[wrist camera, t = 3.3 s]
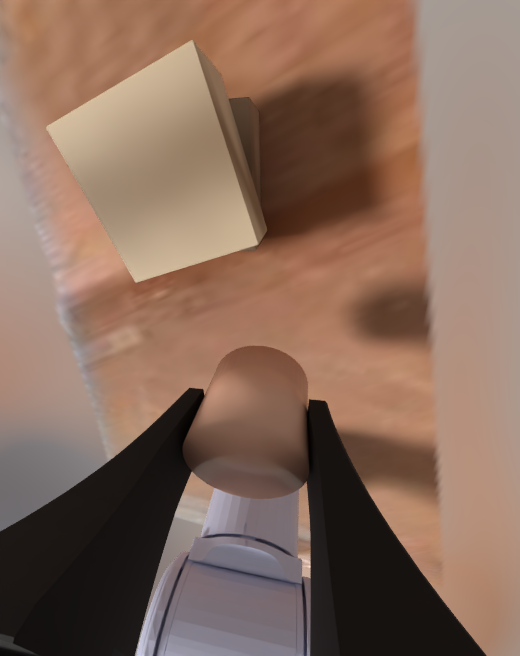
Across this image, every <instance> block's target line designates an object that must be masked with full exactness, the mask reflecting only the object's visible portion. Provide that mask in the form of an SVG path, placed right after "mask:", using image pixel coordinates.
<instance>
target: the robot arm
mask: <svg viewBox="0 0 520 656" xmlns="http://www.w3.org/2000/svg"><path fill="white" fill-rule="evenodd" d="M203 398H204V391H203V389H195V388H189V389H188V390H187V391H186V392H185V393H184V394H183V395H182V396H181V397H180V398H179V399H178V400H177V401H176V402H175V403H174V404H173V405H172V406H171V407H170V408H169V409H168V410H167V411H166V412H165V413H164V414H163V415H162V416H161V417H159V418H158V419H157V420H156V421H155V422H154V423H153V424H152V425H151V426H150V427H149V428H148V429H147V430H146V431H144V432H143V433H142V434H141V435H140V436H139V437H138V438H136V439H135V440H134V441H133V442H132V443H131V444H130V445H128V446H127V447H126V448H125V449H124V450H122V451H121V452H120V453H119V454H118V455H116V456H115V457H114V458H112V459H111V460H110V461H109V462H107V463H106V464H105V465H103V466H102V467H101V468H99V469H98V470H97V471H95V472H94V473H93V474H91V475H90V476H88V477H87V478H86V479H84V480H83V481H81V482H80V483H78V484H77V485H76V486H74V487H73V488H71V489H70V490H68V491H67V492H65V493H64V494H62V495H60V496H59V497H57V498H56V499H54V500H53V501H51V502H49V503H48V504H46V505H45V506H43V507H41V508H40V509H38V510H37V511H35V512H33V513H32V514H30V515H28V516H27V517H25V518H23V519H22V520H20V521H18V522H16V523H15V524H13V525H11V526H9V527H8V528H6V529H4V530H2V531H0V656H135V652H136V648H137V644H138V640H139V636H140V632H141V629H142V625H143V621H144V617H145V613H146V609H147V606H148V602H149V598H150V595H151V591H152V588H153V584H154V580H155V577H156V573H157V570H158V566H159V563H160V560H161V556H162V553H163V550H164V546H165V543H166V540H167V536H168V533H169V530H170V527H171V524H172V521H173V518H174V515H175V511H176V509H177V506H178V503H179V501H180V498H181V496H182V493H183V491H184V489H185V486H186V484H187V481H188V479H189V476H190V474H191V472H192V471H191V469H190V468H189V467H188V465H187V464H186V462H185V459H184V457H183V452H182V449H183V443H184V440H185V438H186V436H187V434H188V431H189V429H190V427H191V425H192V423H193V420H194V418H195V416H196V414H197V412H198V409H199V407H200V405H201V403H202V400H203ZM308 434H309V475H308V478H307V489H308V502H309V514H310V533H311V579H310V578H308V577H302V560H301V559H299V558H298V511H299V489H298V490H297V491H295V492H294V493H291V494H289V495H286V496H283V497H279V498H272V499H252V498H245V497H240V496H236V495H232V494H229V493H226V492H223V491H221V490H218V489H216V488H214V491H213V495H212V498H211V502H210V505H209V509H208V512H207V516H206V519H205V523H204V526H203V530H202V533H201V537H200V538H198V537H195V538H194V540H193V543H192V546H191V550H190V552H186V551H183V552H181V553H180V554H179V555H178V556H177V558H176V559H174V560H173V561H172V562H171V563H170V565H169V566H168V567H167V569H166V571H165V572H164V574H163V576H162V578H161V580H160V583H159V585H158V587H157V590H156V592H155V595H154V597H153V600H152V603H151V606H150V608H149V612H148V614H147V618H146V621H145V624H144V627H143V631H142V634H141V638H140V642H139V646H138V650H137V655H136V656H486V654H485V653H484V652H483V651H482V649H481V648H480V647H479V646H478V644H477V643H476V642H475V641H474V639H473V638H472V637H471V636H470V634H469V633H468V632H467V631H466V630H465V628H464V627H463V626H462V625H461V623H460V622H459V621H458V619H457V618H456V617H455V616H454V614H453V613H452V612H451V610H450V609H449V608H448V607H447V605H446V604H445V603H444V602H443V600H442V599H441V598H440V596H439V595H438V594H437V592H436V591H435V590H434V588H433V587H432V586H431V584H430V583H429V582H428V580H427V579H426V578H425V576H424V575H423V574H422V572H421V571H420V570H419V568H418V567H417V565H416V564H415V563H414V561H413V560H412V558H411V557H410V555H409V554H408V553H407V551H406V550H405V548H404V547H403V545H402V544H401V543H400V541H399V540H398V538H397V537H396V535H395V534H394V533H393V531H392V530H391V528H390V527H389V525H388V523H387V522H386V520H385V519H384V517H383V516H382V514H381V513H380V511H379V509H378V508H377V506H376V505H375V503H374V501H373V500H372V498H371V496H370V495H369V493H368V491H367V490H366V488H365V486H364V484H363V483H362V481H361V479H360V477H359V475H358V473H357V472H356V470H355V468H354V466H353V464H352V462H351V460H350V458H349V456H348V454H347V452H346V450H345V448H344V446H343V444H342V441H341V439H340V437H339V435H338V432H337V430H336V428H335V425H334V423H333V420H332V417H331V414H330V411H329V408H328V405H327V403H326V402H325V401H320V400H310V399H309V406H308Z"/></svg>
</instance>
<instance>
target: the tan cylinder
mask: <svg viewBox="0 0 520 656" xmlns="http://www.w3.org/2000/svg"><path fill="white" fill-rule="evenodd" d="M182 452H183V457H184V459H185V462H186V464H187V465H188V467H189V468H190V469H191V471H192V472H193V473H194V474H195V475H196V476H198V477H199V478H200V479H201V480H203V481H204V482H205V483H207V484H209V485H210V486H212V487H214V488H216V489H218V490H221V491H223V492H226V493H229V494H232V495H236V496H240V497H245V498H252V499H272V498H279V497H283V496H286V495H289V494H291V493H294V492H295V491H297V490H298V489H300V488H301V487H302V486H303V485H304V484H305V482H306V480H307V478H308V475H309V434H308V382H307V377H306V374H305V372H304V370H303V369H302V367H301V366H300V365H299V364H298V363H297V362H296V361H295V360H294V359H293V358H292V357H290V356H289V355H287V354H286V353H284V352H282V351H280V350H277V349H274V348H270V347H265V346H247V347H242V348H239V349H236V350H234V351H232V352H230V353H229V354H227V355H226V356H225V357H224V358H223V359H222V360H221V362H220V363H219V365H218V367H217V369H216V372H215V374H214V376H213V378H212V380H211V383H210V385H209V387H208V389H207V392H206V394H205V396H204V398H203V400H202V403H201V405H200V407H199V409H198V412H197V414H196V416H195V418H194V420H193V423H192V425H191V427H190V429H189V431H188V434H187V436H186V438H185V440H184V443H183V449H182Z"/></svg>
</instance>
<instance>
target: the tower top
mask: <svg viewBox="0 0 520 656" xmlns="http://www.w3.org/2000/svg"><path fill="white" fill-rule="evenodd" d="M46 129H47V130H48V132H49V134H50V135H51V137H52V139H53V141H54V142H55V144H56V146H57V148H58V149H59V151H60V153H61V154H62V156H63V158H64V160H65V161H66V163H67V165H68V167H69V168H70V170H71V172H72V173H73V175H74V177H75V179H76V180H77V182H78V184H79V186H80V187H81V189H82V191H83V192H84V194H85V196H86V198H87V199H88V201H89V203H90V205H91V206H92V208H93V210H94V211H95V213H96V215H97V217H98V218H99V220H100V222H101V224H102V225H103V227H104V229H105V230H106V232H107V234H108V236H109V237H110V239H111V241H112V243H113V244H114V246H115V248H116V249H117V251H118V253H119V255H120V256H121V258H122V260H123V262H124V263H125V265H126V267H127V268H128V270H129V272H130V274H131V275H132V277H133V279H134V281H135V282H139V281H143V280H146V279H149V278H152V277H155V276H159V275H162V274H165V273H168V272H172V271H175V270H178V269H181V268H184V267H188V266H191V265H194V264H197V263H201V262H204V261H207V260H210V259H213V258H217V257H220V256H223V255H226V254H229V253H233V252H236V251H239V250H242V249H246V248H249V247H252V246H255V245H258V244H259V243H260V241H261V240H262V238H263V236H264V235H265V233H266V232H267V227H266V224H265V220H264V217H263V214H262V210H261V207H260V204H259V200H258V197H257V193H256V190H255V187H254V183H253V180H252V177H251V173H250V170H249V166H248V163H247V160H246V156H245V153H244V150H243V146H242V143H241V140H240V136H239V133H238V129H237V126H236V123H235V119H234V116H233V113H232V109H231V106H230V103H229V99H228V96H227V92H226V89H225V86H224V82H223V79H222V76H221V73H220V72H219V71H218V70H217V69H216V67H215V66H214V65H213V64H212V63H211V61H210V60H209V59H208V58H207V57H206V55H205V54H204V53H203V52H202V51H201V49H200V48H199V47H198V46H197V44H196V43H195V42H194V41H193V40H191V41H189V42H188V43H186V44H184V45H183V46H181V47H179V48H178V49H176V50H174V51H173V52H171V53H169V54H168V55H166V56H164V57H163V58H161V59H159V60H158V61H156V62H154V63H153V64H151V65H149V66H148V67H146V68H144V69H142V70H141V71H139V72H137V73H136V74H134V75H132V76H131V77H129V78H127V79H126V80H124V81H122V82H121V83H119V84H117V85H116V86H114V87H112V88H111V89H109V90H107V91H106V92H104V93H102V94H100V95H99V96H97V97H95V98H94V99H92V100H90V101H89V102H87V103H85V104H84V105H82V106H80V107H79V108H77V109H75V110H74V111H72V112H70V113H69V114H67V115H65V116H64V117H62V118H60V119H59V120H57V121H55V122H53V123H52V124H50V125H48V126H47V127H46Z"/></svg>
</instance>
